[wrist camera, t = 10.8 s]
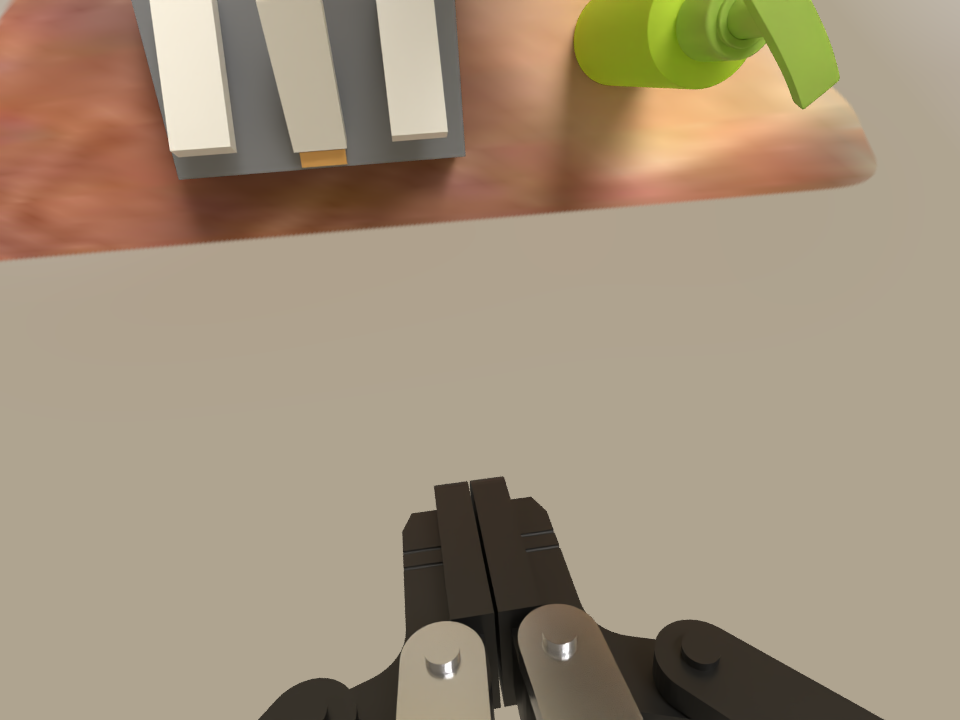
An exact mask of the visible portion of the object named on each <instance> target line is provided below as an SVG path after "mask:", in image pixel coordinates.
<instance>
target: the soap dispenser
mask: <svg viewBox="0 0 960 720" xmlns="http://www.w3.org/2000/svg"><path fill="white" fill-rule="evenodd" d="M766 43H767V45H768V47H769V49H770V51H771V52H772V54H773V56H774V58H775V60H776V62H777V64H778V66H779V68H780V70H781V72H782V74H783V76H784V78H785V81H786V83H787V85H788V88H789V91H790V93H791V96H792V99H793V101H794V103H795V104H797V105H798V106H799V107H800V108H801V109H805V108H806V107H807V106H809V105H810V104H811V103H812V102H814V101H815V100H816V99H817V98H818V97H820V96H821V95H822V94H823V93H825V92H826V91H827V90H828V89H829V88H831V87H832V86H833V85H834V84H835V83H837V82H838V81H839V78H840V76H839V71H838V67H837V63H836V60H835V56H834V53H833V50H832V47H831V44H830V41H829V38H828V36H827V33H826V31H825V28H824V26H823V24H822V22H821V19H820V17H819V15H818V13H817V11H816V9H815V7H814V5H813V3H812V1H811V0H591V1H590V2H589V3H588V4H587V5H586V6H585V8H584V9H583V11H582V12H581V14H580V16H579V18H578V21H577V24H576V27H575V32H574V51H575V55H576V59H577V61H578V64H579V66H580V67H581V69H582V70H583V72H584V73H585V74H586V75H587V76H588V77H589V78H590V79H592V80H593V81H595V82H597V83H600V84H603V85H608V86H630V87H653V88H676V89H704V88H708V87H711V86H714V85H717V84H719V83H721V82H722V81H724V80H726V79H727V78H728V77H730V76H731V75H732V74H733V73H735V72H736V71H737V70H738V69H739V67H740V66H741V65H742V64H743V63H744V61H745V60H746V58H747V57H750V56H752V55H753V54H755V53H756V52H758V51H759V50H760V49H761V48H762V47H763V46H764V45H765V44H766Z"/></svg>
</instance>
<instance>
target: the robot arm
mask: <svg viewBox="0 0 960 720" xmlns="http://www.w3.org/2000/svg"><path fill="white" fill-rule="evenodd" d="M434 490H435V499H436V507H437V510H434V511H427V512H420V513H413V514H411V516H410V518H409V520H408V522H407V524H406V526H405V528H404V530H403V532H402V534H403V560H404V561H403V563H404V588H405V589H404V590H405V618H406V638H405V642H404V645H403V648H402V650H401V652H400V654H399V655H398V657H397V658H396V659H395V661H394V662H393V663H392V664H391V665H390V666H389V667H388V668H387V669H386V670H384V671H383V672H382V673H380V674H379V675H377V676H375V677H374V678H372V679H370V680H368V681H366V682H364V683H362V684H359V685H357V686H355V687H353V688H351V689H348V688H347V687H346V686H345V685H344V684H342V683H341V682H338V681H336V680H333V679H328V678H317V679H311V680H307V681H304V682H301V683H299V684H297V685H295V686H293V687H292V688H290V689H289V690H287V691H286V692H285V693H283V694H282V695H281V696H280V697H279V698H278V699H277V700H276V701H275V702H274V703H273V704H272V705H271V706H270V707H269V709H268V710H267V711H266V712H265V713H264V714H263V715H262V716H261V717H260V718H259V719H258V720H495V718H494V709H496V708H500V707H501V704H500V690H499V680H500V685H501V691H502V696H503V701H504V706H505V707H506V706H511V705H518V710H519V715H520V719H521V720H884V719H882V718H880V717H878V716H876V715H874V714H873V713H871V712H869V711H867V710H866V709H864V708H862V707H860V706H859V705H857V704H855V703H853V702H851V701H850V700H848V699H846V698H844V697H842V696H841V695H839V694H837V693H835V692H833V691H832V690H830V689H828V688H826V687H824V686H823V685H821V684H819V683H817V682H815V681H814V680H812V679H810V678H808V677H806V676H805V675H803V674H801V673H799V672H797V671H796V670H794V669H792V668H790V667H788V666H787V665H785V664H783V663H781V662H779V661H778V660H776V659H774V658H772V657H771V656H769V655H767V654H765V653H763V652H762V651H760V650H758V649H756V648H755V647H753V646H751V645H749V644H747V643H746V642H744V641H742V640H740V639H738V638H736V637H735V636H733V635H731V634H729V633H728V632H726V631H724V630H722V629H720V628H719V627H716V626H714V625H712V624H709V623H707V622H703V621H698V620H681V621H676V622H673V623H671V624H669V625H667V626H666V627H664V628H663V629H662V630H661V631H660V632H659V634H658V636H657V638H656V640H655V639H648V638H640V637H632V636H625V635H620V634H617V633H614V632H611V631H609V630H607V629H605V628H603V627H601V626H600V625H598V624H597V623H596V622H595V621H594V620H593V618H592V617H591V616H589V615H588V614H587V613H586V612H585V611H584V609H583V607H582V605H581V603H580V600H579V598H578V595H577V593H576V590H575V587H574V584H573V581H572V579H571V576H570V573H569V571H568V568H567V565H566V562H565V560H564V557H563V554H562V552H561V549H560V548H559V543H558V541H557V538H556V535H555V533H554V532H553V527H552V525H551V522H550V519H549V516H548V514H547V511H546V510H545V509H544V508H543V507H542V506H540V505H539V504H538V503H537V502H536V501H535V500H534V499H533V498H532V497H526V498H519V499H512V500H511V499H510V496H509V492H508V489H507V486H506V482H505V479H504V477H495V478H488V479H480V480H473V481H470V491H469V486H468V482H467V481H466V482H459V483H451V484H444V485H436V486H434ZM470 494H471V496H470Z"/></svg>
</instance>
